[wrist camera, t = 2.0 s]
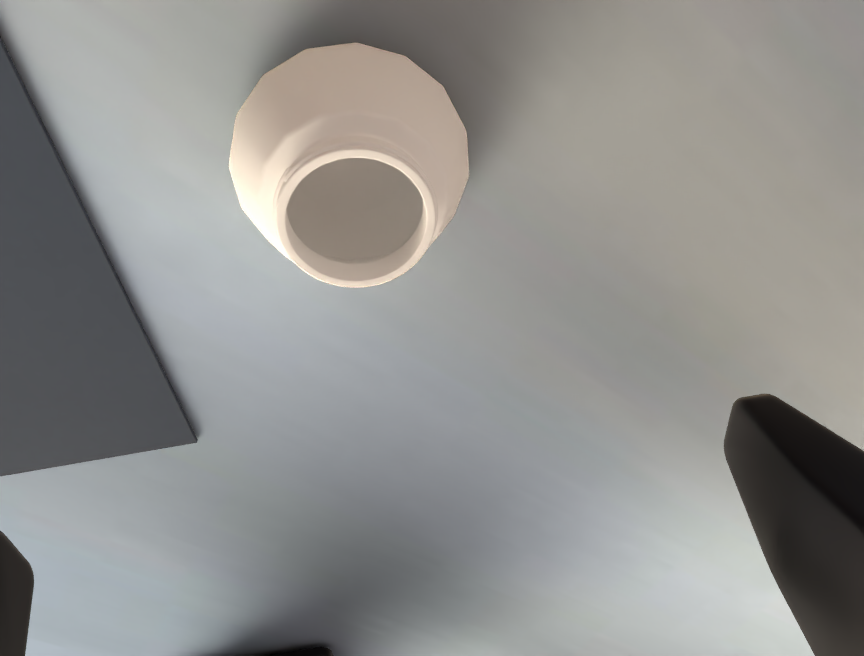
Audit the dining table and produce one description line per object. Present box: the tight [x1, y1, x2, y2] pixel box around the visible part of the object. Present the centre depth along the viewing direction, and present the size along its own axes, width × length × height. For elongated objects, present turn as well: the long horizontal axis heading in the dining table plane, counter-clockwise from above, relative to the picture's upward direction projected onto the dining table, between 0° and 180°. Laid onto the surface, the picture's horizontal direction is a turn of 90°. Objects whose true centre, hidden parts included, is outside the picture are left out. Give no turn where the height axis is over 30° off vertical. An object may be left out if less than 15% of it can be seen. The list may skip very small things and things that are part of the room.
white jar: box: [229, 42, 469, 288], centre depth 14 cm, size 5×3×5 cm
